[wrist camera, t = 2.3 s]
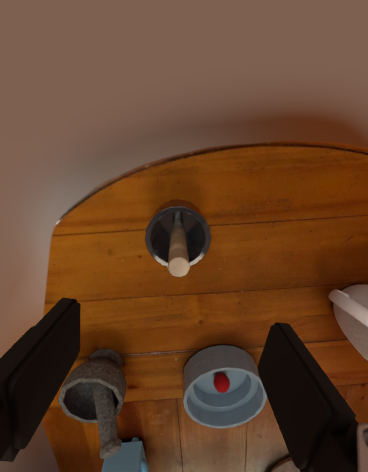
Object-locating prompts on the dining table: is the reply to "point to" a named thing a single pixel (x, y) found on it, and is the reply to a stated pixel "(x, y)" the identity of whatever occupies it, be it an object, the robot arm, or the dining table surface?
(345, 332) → the mug
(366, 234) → the dining table surface
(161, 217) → the holder
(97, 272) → the dining table surface
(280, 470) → the planter
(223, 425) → the mixing bowl
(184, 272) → the stick
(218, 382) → the berry
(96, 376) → the mortar and pestle
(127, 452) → the teapot
